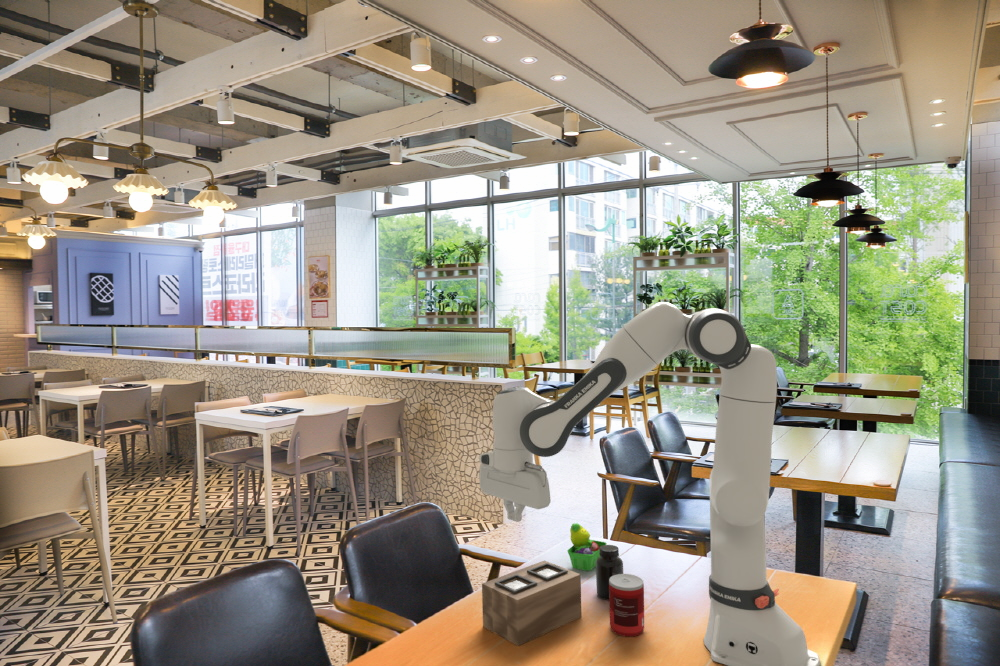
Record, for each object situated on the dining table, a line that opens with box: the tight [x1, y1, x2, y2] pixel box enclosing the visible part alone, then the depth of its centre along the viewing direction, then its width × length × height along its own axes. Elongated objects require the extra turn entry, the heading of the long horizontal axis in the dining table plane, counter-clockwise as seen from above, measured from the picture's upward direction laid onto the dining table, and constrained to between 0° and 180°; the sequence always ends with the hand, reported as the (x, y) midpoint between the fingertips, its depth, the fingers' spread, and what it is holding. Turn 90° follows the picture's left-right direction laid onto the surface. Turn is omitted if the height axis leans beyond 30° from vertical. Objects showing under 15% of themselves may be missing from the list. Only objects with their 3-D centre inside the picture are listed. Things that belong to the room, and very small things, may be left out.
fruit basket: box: [567, 522, 608, 572], centre depth 187 cm, size 11×9×11 cm
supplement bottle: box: [595, 544, 624, 601], centre depth 166 cm, size 7×7×12 cm
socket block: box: [481, 560, 582, 647], centre depth 153 cm, size 12×20×11 cm, turn 131°
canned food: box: [608, 573, 645, 638], centre depth 148 cm, size 8×8×11 cm
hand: (514, 520), depth 149 cm, fingers closed
